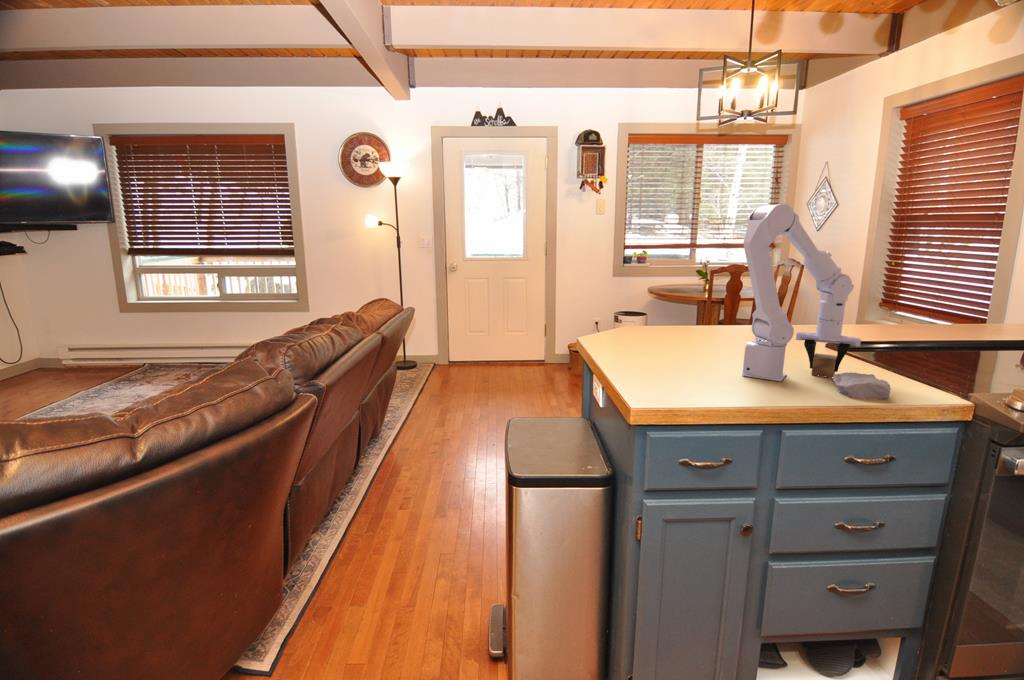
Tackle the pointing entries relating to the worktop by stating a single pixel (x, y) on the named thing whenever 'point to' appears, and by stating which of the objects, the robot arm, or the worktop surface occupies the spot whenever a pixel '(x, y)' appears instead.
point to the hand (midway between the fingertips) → (823, 369)
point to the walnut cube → (824, 365)
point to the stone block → (862, 386)
